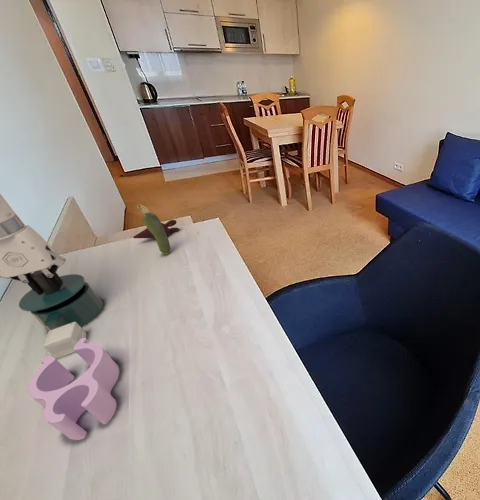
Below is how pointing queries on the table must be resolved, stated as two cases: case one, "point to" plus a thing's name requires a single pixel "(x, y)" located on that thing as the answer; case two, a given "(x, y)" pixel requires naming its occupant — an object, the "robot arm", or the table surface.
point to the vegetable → (155, 229)
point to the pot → (72, 310)
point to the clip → (76, 389)
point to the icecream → (148, 234)
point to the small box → (63, 339)
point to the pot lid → (50, 292)
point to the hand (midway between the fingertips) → (51, 288)
